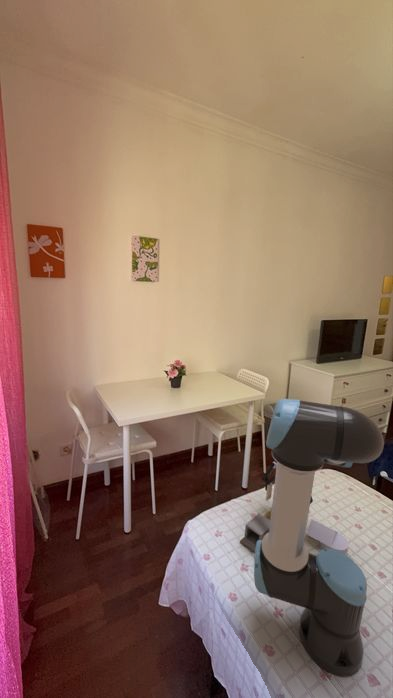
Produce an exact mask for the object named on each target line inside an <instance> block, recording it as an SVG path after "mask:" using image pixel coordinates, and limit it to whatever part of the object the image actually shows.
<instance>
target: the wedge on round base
mask: <svg viewBox="0 0 393 698" xmlns="http://www.w3.org/2000/svg"><path fill="white" fill-rule="evenodd" d="M305 535H307V536H309V537H310V538H312V539H314V540H316V541H318V542H319V547H320V548H321V550H325V549H334V550H337V551H340V552H342V553H344V554H345V555H347V556H348V549H349V545H350V544H349V542H348V539H347V538H346V536H344V535H343V534H342V533H340V532H339V531H337V530H335V529H333V528H331V527H329V526H326V525H325V524H323V523H321V522H319V521H317V520H315V519H312V518H311V520H310V523H309V525H308V528H307V529H306V533H305Z"/></svg>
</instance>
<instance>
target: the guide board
mask: <svg viewBox="0 0 393 698" xmlns="http://www.w3.org/2000/svg"><path fill="white" fill-rule="evenodd" d="M244 528H245V529H244V537H242V538H241V539H240V540H239V544H240V545H242V546H244V547H245V548H246V549H248V550H249V551H251V552H252V553H253V554H254V555H255V548H256V543H257V541H258V540H262V539H263V538H264V536H265V535H266V534H267V533H268V532H269V528H270V520H268V519H267V518H265V517H264V515H262V514H260V513H257V514H255V516H254V517H253V518H251V519H250V520H249V521H248V522H247V523H246V524H245V527H244Z"/></svg>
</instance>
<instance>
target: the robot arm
mask: <svg viewBox="0 0 393 698" xmlns="http://www.w3.org/2000/svg"><path fill="white" fill-rule="evenodd" d="M265 445H266V448H268V449H270V450H271V456H272V458H273V459H274V461H272V462H271V463H270V465H269V468H268V469H267V470H266V471H265V473H264V475H263V476H262V477H261V480H262V481H263V482H265V486H264V487H265V488H264V489H265V492H266V495H265V501H269V500H271V498H272V503H271V509H272V511H271V520H270V528H269V532H268V533H267V534H266V535H265V536H264V538H263V539H262V540H258V541H257V543H256V548H255V554H254V559H253V560H254V561H253V562H254V566H253V579H254V586H255V589H256V590H257V592H259V593H260V594H263V595H265V596H267V597H268V598H271V599H272V598H273V599H276V600H278V601H279V600H280V601H282V602H285V603H288V604H291V605H295V606H298V607H301V608H304V610H303V611H302V614H301V616H300V618H299V619H300V621H299V625H298V627H299V629H298V632H299V638H300V641H301V644H302V646H303V647H304V650H305V651H306V653H307V655H308V656H309V657H310V658H311V660H312V661H313V662H315V664H316V665H317V666H318V667H320V668H321V669H322V670H324V671H326V672H328V673H329V674H331V675H334V676H338V677H349V676H352V675H354V674H356V673H357V672H359V670H360V668H361V666H362V662H363V658H364V643H363V638H362V635H361V630H360V628H361V622H362V619H363V618H362V617H363V612H364V609H365V604H366V602H367V597H368V596H367V590H368V583H367V579H366V577H365V576H366V575H365V574H364V572H363V570H362V569H361V568H360V566H359V564H357V563H356V562H354V560H353V558H351V557H349V555H348V554H347V555H345V554H344V553H342V552H340V551H337V550H334V549H325V550H322V549H321V550H320V551H319V552H318V553H317V554H311V553H310V552H309V551H308V548H307V546H306V544H305V540H306V539H305V538H306V533H307V526H308V519H309V512H310V507H311V504H312V503H313V502H314V500H313V496H312V493H313V489H314V488H313V487H314V480H315V479H314V478H315V475H316V474H315V473H316V472H318V471H320V470H321V469H322V468H323V467H324V464H327V465H331V466H337V467H340V468H352V466H353V464H354V463H355V464H367V463H371V462H374V461H375V460H376V459H378V458H380V456H381V454H382V453H383V450H384V448H385V447H384V445H385V439H384V435H383V434H382V431H381V429H380V428H379V426H378V425H377V424H376V422H375V421H373V420H372V419H371V418H370V417H368V415H366V414H364V413H363V412H360V411H358V410H357V409H354V408H351V407H348V406H347V407H346V406H337V405H333V404H327V403H326V404H324V403H319V402H314V401H313V402H312V401H306V400H300V399H299V398H297V399H292V398H291V399H290V398H280V399H278V400H277V401H276V403H275V406H274V409H273V412H272V415H271V420H270V425H269V428H268V432H267V437H266V442H265ZM274 470H275V475H273V476H271V477H270V478H269V476H270V475H271V474H272V473H273V471H274ZM273 481H274V485H273ZM273 486H274V487H273ZM272 491H273V492H272ZM272 493H273V494H272Z"/></svg>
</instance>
